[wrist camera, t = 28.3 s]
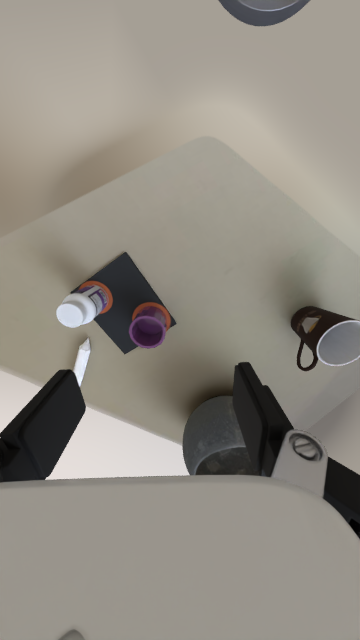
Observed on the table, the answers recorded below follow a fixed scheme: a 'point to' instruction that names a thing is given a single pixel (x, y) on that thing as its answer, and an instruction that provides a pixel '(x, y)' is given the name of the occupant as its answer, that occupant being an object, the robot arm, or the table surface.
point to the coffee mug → (327, 336)
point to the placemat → (124, 300)
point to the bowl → (215, 441)
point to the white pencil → (82, 360)
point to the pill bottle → (82, 306)
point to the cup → (148, 327)
